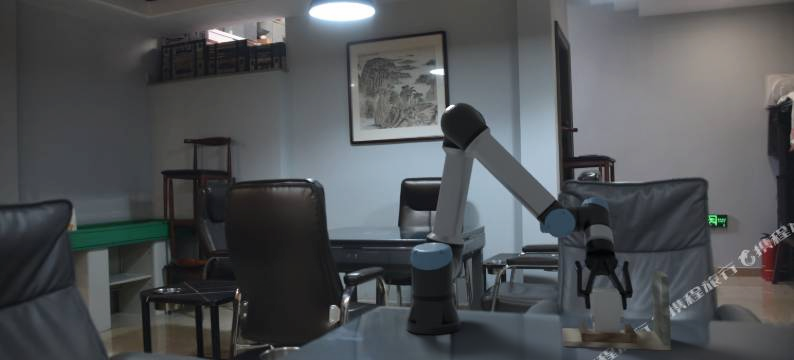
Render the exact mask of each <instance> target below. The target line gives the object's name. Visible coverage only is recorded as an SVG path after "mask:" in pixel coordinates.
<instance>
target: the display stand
mask: <svg viewBox="0 0 794 360" xmlns="http://www.w3.org/2000/svg"><path fill="white" fill-rule="evenodd" d="M669 282H670V281H669V276H668V275H667V274H665V272H663V271H662V270H660V269H659V268H651V289H652V312H653V313H652V319H653V320H652V322H653V330H635V329H634V328H633V326H632V324H631V323H623V329H621V333H604V332H594V328H587V323H586V322H585V321H584V322H583V321H581V322H580V321H579V322H578V328H571V327H570V328H569V327H568V328H566V327H563V328H561V330H562V341H563V346H564V347H574V348H575V347H578V348H579V347H580V348H599V349H600V348H603V349H626V350H627V349H628V350H630V349H631V350H632V349H633V350H654V351H672V343H671V342H672V339H671V336H672V335H671V312H670V310H671V309H670V307H671V306H670V288H669V287H670V283H669Z"/></svg>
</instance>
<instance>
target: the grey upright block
mask: <svg viewBox="0 0 794 360" xmlns="http://www.w3.org/2000/svg"><path fill="white" fill-rule="evenodd" d="M591 294H593V303H594V313H595V321H594V322H592V329H594V332H604V333H621V330H622V329H621V323H620V297H619V291H618V290H617V288H614V287H592V291H591Z"/></svg>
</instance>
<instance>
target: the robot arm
mask: <svg viewBox="0 0 794 360" xmlns="http://www.w3.org/2000/svg"><path fill="white" fill-rule="evenodd" d="M440 130H441V132H442V133H443V141H442V145H441V148H442V150H443V151H444V153H445V157H444V158H445V159H444V164H443V170H442V175H441V180H440V181H441V182H440V188H439V191H438V192H439V193H438V199H437V205H436V209H435V215H434V222H433V226H432V227H433V228H432V231H431V232H430V233H428V234H427V235H426V240H425V243H421V244H418V245H414V247H412V249H411V252H410V261H409V262H410V271H411V272H410V273H411V276H410V277H411V304H410V308H409V311H408V315H407V318H406V330H407V331H409V332H410V333H414V334H419V335H446V334H447V335H448V334H450V333H455V332H458V331H459V330H461V318H460V315H459V313H458V310H457V307H456V304H455V302H454V279H456V278H457V277H458V275H460V274H461V273H460V272H461V271H462V268H463V266H464V265H463V264H464V258H463V252H464V246H465V241H464V240H463V238H462V236H461V235H462V228H463V223H464V217H465V213H466V212H465V211H466V205H467V201H468V194H469V190H470V189H469V188H470V183H471V178H472V171H473V166H474V161H475V159H476V160H477V161H478V162H479V163H480V164H481V165H482V166H483V167H484V168H485V169H486V170H487V171H488V172H489V174H491V175H492V176H493V178H495V179H496V180H497V181H498V182H499V183H500V184H501V185H502V186H503V187H504V188H505V189H506V190H507V191H508V192H509V193H510V194H511V195H512V196H513V197H514V198H515V199H516V200H517V201H518V202H519V203H520V204H521V205H522V206H523V207H524V208H525V209H526V210H527V211H528V212H529V213H530V214H531V215H532V216H533V218H535V219H536V220H537V222H539V230H540V232H541V233H542V234H549V235H550V236H551V237H553V238H560V239H563V238H566V237H568V236H570V235H571V234H572V233H583V239H584V250H585V251H584V252H585V258H584V260H583V261H579V260H575V261H574V269H575V271H576V296H577V297H579V298H580V297H581V298H583V299H584V307H585V309H586V310H589V312H590V322H591V323H593V322H594V321H595V313H594V303H593V294H592V288H594V284H595V280H596V279H597V277H599V276H605V277H607V278H608V280H609V281H610V282H611V285H612V286H613V288H617V290H618V291H619V297H620V324H624V320H625V313H624V311H627V308H628V303H627V299H632V298H633V293H634V289H633V285H632V281H631V277H630V272H629V264H630V262H629V261H628V260H624V261H623V262H622V261H619V259H618V258H617V257H616V249H615V245H614V243H615V242H614V241H615V240H614V235H613V229H612V219H611V212H610V210H609V204H608V202H607V201H606V200H605V199H603V198H601V197H597V196H594V197H589V198H586V199H584V200H583V202H582V203H581V205H579V206H564V205H563V204H562V203H561V202H560V201H559V200H558V199H556V197H554V195H553V194H552V193H551V192H550V191H549V190H548V189H547V188H546V187H544V186H543V185H542V183H541V182H540V181H539V180H537V178H536V177H534V176H533V175H532V173H530V171H528V170H527V168H526V167H524V166H523V164H522V163H521V162H519V161H518V160H517V159H516V158H515V157H514V156H513V155H512V154H511V153H510V152H509V151H508V150H507V149H506V148H505V147H504V146H503V145H502V143H500V142H499V141H498V140H497V139H496V138H495V137H494V136H493V135H492V134H491V128H490V127H489V126H488V125H487V122H486V119H485V117H484V115H483V114H482V112H480V111H479V110H478V109H476V108H475V107H474V106H473V105H471V104H468V103H465V102H455V103H453V104H451V105H449V106H448V107H447V108H446V109H445V110H444V111H443V113H442V114H441V118H440ZM585 267H586V269H587V270H589V271H590V272H589V273H590V274H589V277H588V280H587V282H586V286H585V289H583V271H584V268H585ZM617 267H618V268H619V270H620V271H621V272H622V280H623V283H624V286H623V285H622V282H621V281H620V279H619V277H618V276H617V273H616V271H615V270H616V269H617ZM624 288H625V289H624Z"/></svg>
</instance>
